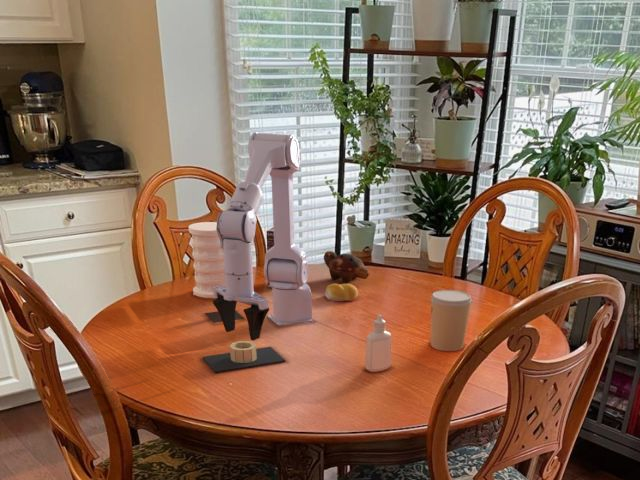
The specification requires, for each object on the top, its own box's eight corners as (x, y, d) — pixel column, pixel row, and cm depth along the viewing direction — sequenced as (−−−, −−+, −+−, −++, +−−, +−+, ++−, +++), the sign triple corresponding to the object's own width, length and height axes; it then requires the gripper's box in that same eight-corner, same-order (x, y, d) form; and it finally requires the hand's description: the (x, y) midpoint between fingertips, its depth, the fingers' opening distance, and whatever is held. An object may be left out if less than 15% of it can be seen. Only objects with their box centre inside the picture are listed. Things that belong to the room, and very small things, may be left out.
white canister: (444, 335, 174) (448, 286, 168) (474, 346, 169) (480, 296, 163) (419, 344, 169) (422, 294, 163) (449, 355, 163) (454, 304, 157)
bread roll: (361, 300, 197) (362, 286, 195) (330, 303, 194) (330, 288, 192) (351, 292, 203) (352, 278, 201) (321, 294, 200) (321, 280, 198)
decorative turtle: (328, 273, 219) (331, 246, 215) (373, 283, 215) (377, 256, 211) (314, 279, 212) (317, 251, 208) (361, 289, 207) (364, 262, 203)
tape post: (234, 311, 186) (233, 292, 183) (244, 320, 180) (243, 301, 177) (204, 315, 182) (202, 295, 180) (213, 324, 176) (212, 304, 174)
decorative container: (186, 297, 195) (179, 229, 185) (203, 285, 204) (197, 220, 195) (226, 301, 193) (221, 232, 183) (241, 289, 202) (237, 223, 193)
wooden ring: (245, 351, 161) (245, 339, 159) (261, 358, 157) (261, 346, 156) (225, 357, 157) (224, 344, 156) (241, 365, 154) (240, 352, 152)
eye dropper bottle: (391, 372, 154) (394, 318, 148) (366, 372, 153) (368, 318, 147) (389, 364, 158) (391, 311, 151) (363, 364, 157) (365, 311, 151)
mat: (270, 348, 164) (270, 346, 164) (285, 361, 157) (285, 360, 157) (202, 358, 157) (202, 356, 157) (215, 373, 151) (215, 371, 150)
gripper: (200, 269, 148) (205, 331, 155) (250, 282, 141) (253, 347, 148) (225, 262, 153) (229, 323, 160) (274, 275, 146) (276, 338, 153)
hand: (242, 334), depth 154 cm, fingers open, 7 cm apart
